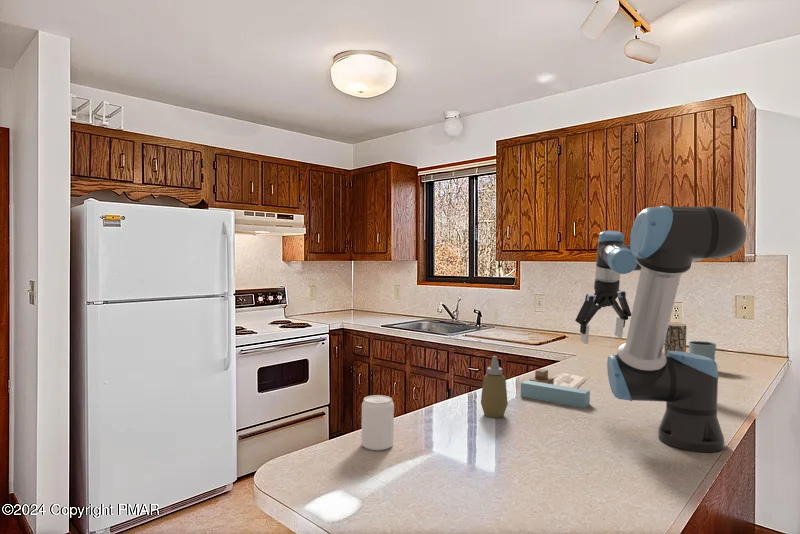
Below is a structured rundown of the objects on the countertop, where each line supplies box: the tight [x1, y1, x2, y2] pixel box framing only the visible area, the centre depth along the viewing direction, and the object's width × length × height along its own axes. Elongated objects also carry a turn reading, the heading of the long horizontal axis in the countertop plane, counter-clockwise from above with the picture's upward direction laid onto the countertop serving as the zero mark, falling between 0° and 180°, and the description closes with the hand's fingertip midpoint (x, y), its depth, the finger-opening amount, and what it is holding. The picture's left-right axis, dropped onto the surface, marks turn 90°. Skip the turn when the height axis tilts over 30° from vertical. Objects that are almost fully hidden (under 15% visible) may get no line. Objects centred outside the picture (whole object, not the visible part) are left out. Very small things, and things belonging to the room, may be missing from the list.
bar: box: [520, 379, 591, 409], centre depth 176 cm, size 5×22×5 cm, turn 52°
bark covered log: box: [663, 321, 687, 357], centre depth 187 cm, size 7×7×25 cm
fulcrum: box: [529, 368, 554, 385], centre depth 190 cm, size 8×6×7 cm
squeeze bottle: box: [480, 355, 508, 418], centre depth 159 cm, size 8×8×18 cm
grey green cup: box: [688, 340, 717, 361], centre depth 225 cm, size 10×10×12 cm
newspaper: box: [552, 372, 588, 389], centre depth 200 cm, size 23×12×2 cm, turn 149°
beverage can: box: [360, 394, 395, 451], centre depth 132 cm, size 8×8×12 cm
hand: (601, 339), depth 175 cm, fingers open, 13 cm apart
